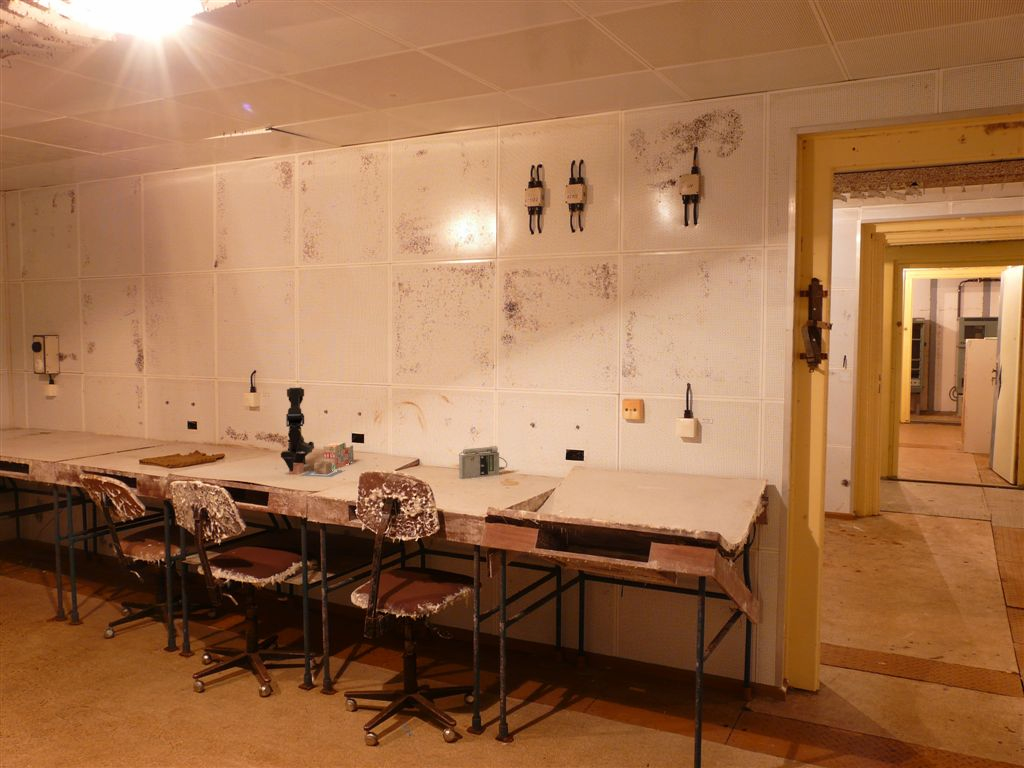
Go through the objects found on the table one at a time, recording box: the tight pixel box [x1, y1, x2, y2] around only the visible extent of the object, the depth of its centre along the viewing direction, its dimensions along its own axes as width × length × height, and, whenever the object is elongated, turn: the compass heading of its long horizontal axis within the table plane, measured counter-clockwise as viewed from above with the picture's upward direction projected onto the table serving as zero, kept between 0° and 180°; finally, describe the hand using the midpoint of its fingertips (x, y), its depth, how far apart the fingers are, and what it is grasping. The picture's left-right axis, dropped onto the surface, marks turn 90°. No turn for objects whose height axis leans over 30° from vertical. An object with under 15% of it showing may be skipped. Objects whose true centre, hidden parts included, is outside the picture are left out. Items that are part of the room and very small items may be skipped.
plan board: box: [299, 469, 347, 478], centre depth 379 cm, size 16×16×1 cm
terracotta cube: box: [288, 463, 305, 475], centre depth 380 cm, size 5×5×5 cm
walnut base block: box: [313, 460, 333, 474], centre depth 379 cm, size 6×6×5 cm
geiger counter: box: [458, 445, 508, 480], centre depth 373 cm, size 14×6×25 cm
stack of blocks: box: [323, 441, 355, 470], centre depth 398 cm, size 21×6×12 cm, turn 167°
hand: (296, 469), depth 380 cm, fingers open, 9 cm apart
